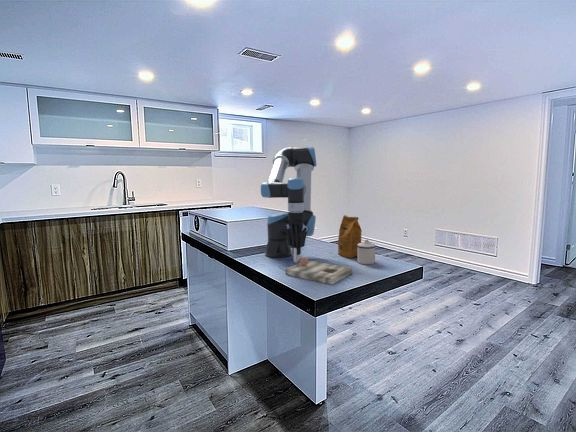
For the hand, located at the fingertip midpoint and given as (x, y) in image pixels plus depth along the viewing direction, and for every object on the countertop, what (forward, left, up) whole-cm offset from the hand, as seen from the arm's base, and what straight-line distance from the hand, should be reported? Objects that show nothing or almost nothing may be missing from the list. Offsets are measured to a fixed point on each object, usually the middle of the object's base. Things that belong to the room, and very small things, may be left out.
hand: (296, 261), depth 150 cm
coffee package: (+9, +37, -4) cm, 39 cm away
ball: (+4, 0, -2) cm, 4 cm away
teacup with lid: (+21, +30, -4) cm, 37 cm away
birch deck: (+12, 0, -4) cm, 13 cm away
